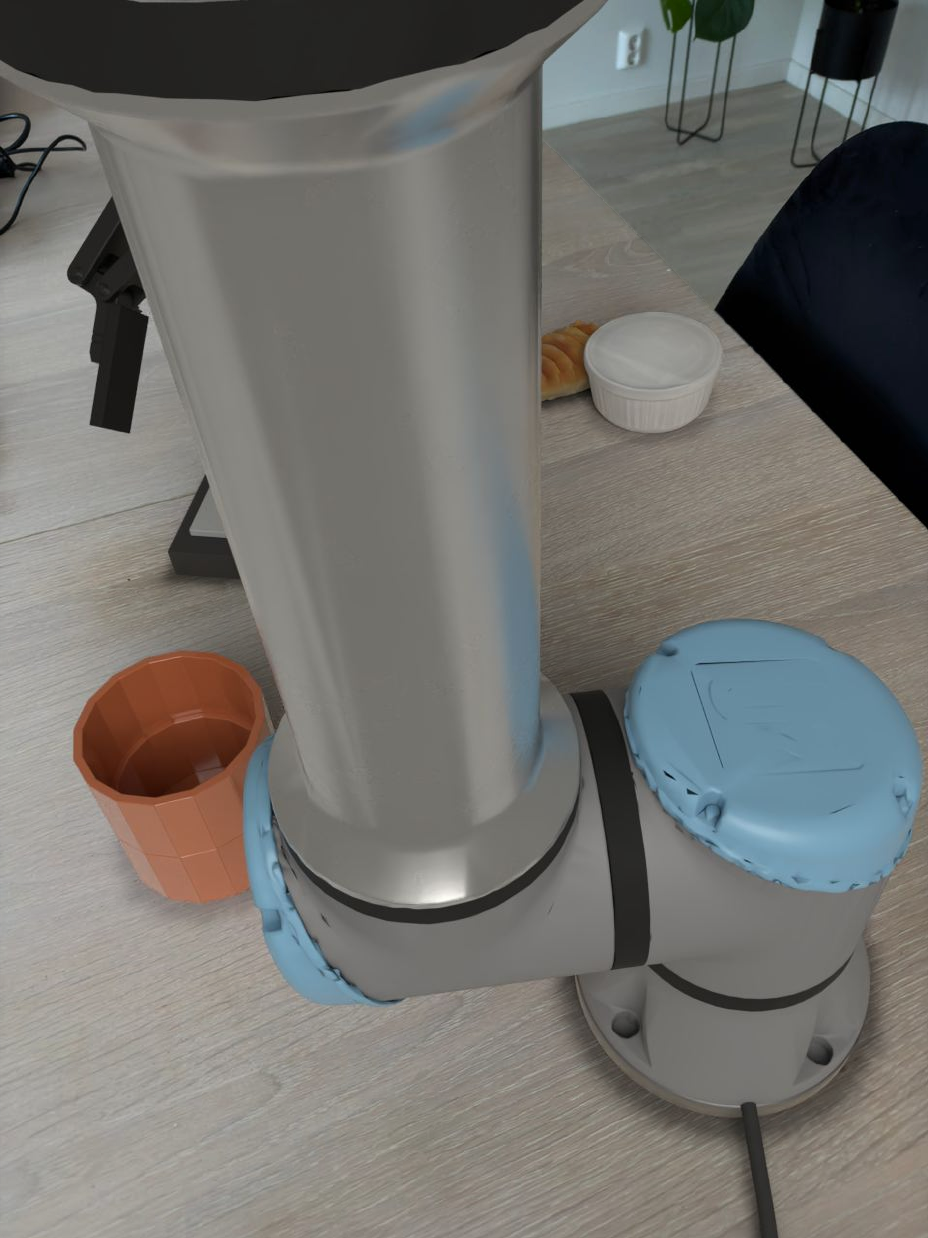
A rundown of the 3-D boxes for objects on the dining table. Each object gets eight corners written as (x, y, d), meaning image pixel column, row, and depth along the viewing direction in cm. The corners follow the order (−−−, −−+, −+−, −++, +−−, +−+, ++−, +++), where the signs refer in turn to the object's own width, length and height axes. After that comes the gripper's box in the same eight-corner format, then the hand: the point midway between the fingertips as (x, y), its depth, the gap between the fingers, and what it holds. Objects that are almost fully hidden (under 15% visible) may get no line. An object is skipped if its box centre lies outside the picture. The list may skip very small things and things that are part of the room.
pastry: (541, 418, 92) (540, 381, 89) (491, 382, 95) (489, 346, 93) (623, 374, 95) (625, 336, 92) (572, 341, 99) (572, 304, 96)
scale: (383, 590, 80) (378, 561, 77) (175, 574, 82) (165, 545, 80) (423, 450, 90) (420, 421, 88) (238, 439, 93) (230, 411, 90)
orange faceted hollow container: (272, 917, 63) (230, 814, 55) (106, 896, 64) (41, 793, 56) (317, 769, 69) (285, 658, 61) (165, 754, 71) (114, 643, 63)
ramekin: (578, 440, 90) (579, 387, 86) (587, 361, 97) (588, 308, 93) (717, 446, 88) (724, 392, 84) (715, 365, 95) (722, 312, 92)
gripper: (539, 89, 56) (461, 497, 58) (122, 54, 63) (65, 422, 65) (505, 18, 49) (417, 486, 51) (37, -14, 56) (-25, 402, 58)
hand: (220, 451), depth 58 cm, fingers open, 13 cm apart
